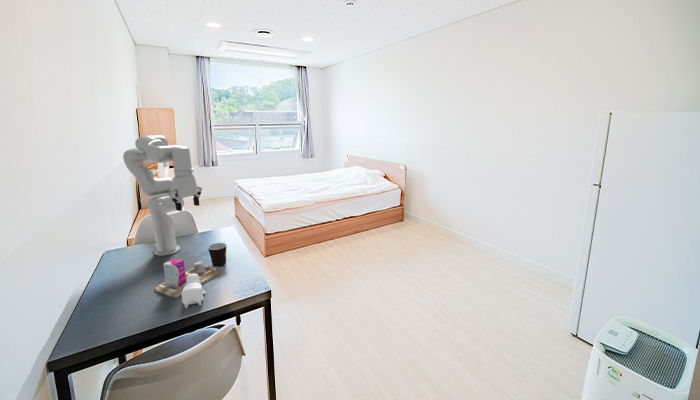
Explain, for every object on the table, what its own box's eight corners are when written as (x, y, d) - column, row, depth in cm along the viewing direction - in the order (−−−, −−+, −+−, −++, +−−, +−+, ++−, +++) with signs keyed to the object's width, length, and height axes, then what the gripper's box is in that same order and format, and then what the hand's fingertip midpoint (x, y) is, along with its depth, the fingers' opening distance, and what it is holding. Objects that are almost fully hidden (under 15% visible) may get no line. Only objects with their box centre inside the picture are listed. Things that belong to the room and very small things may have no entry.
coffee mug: (222, 268, 158) (219, 250, 155) (206, 267, 159) (204, 248, 157) (234, 258, 169) (233, 241, 166) (220, 257, 170) (218, 239, 168)
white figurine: (206, 309, 130) (205, 281, 141) (203, 296, 126) (202, 268, 137) (182, 313, 127) (183, 284, 138) (179, 300, 122) (180, 271, 133)
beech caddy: (154, 290, 138) (152, 277, 137) (199, 268, 158) (198, 256, 157) (176, 298, 132) (174, 285, 131) (219, 274, 152) (218, 262, 151)
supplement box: (177, 289, 137) (173, 265, 134) (166, 287, 138) (162, 264, 135) (187, 282, 142) (183, 259, 139) (176, 281, 144) (172, 258, 140)
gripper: (193, 169, 159) (198, 202, 163) (160, 175, 144) (166, 211, 148) (204, 171, 155) (208, 204, 160) (171, 177, 140) (177, 213, 145)
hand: (188, 207), depth 154 cm, fingers open, 9 cm apart
